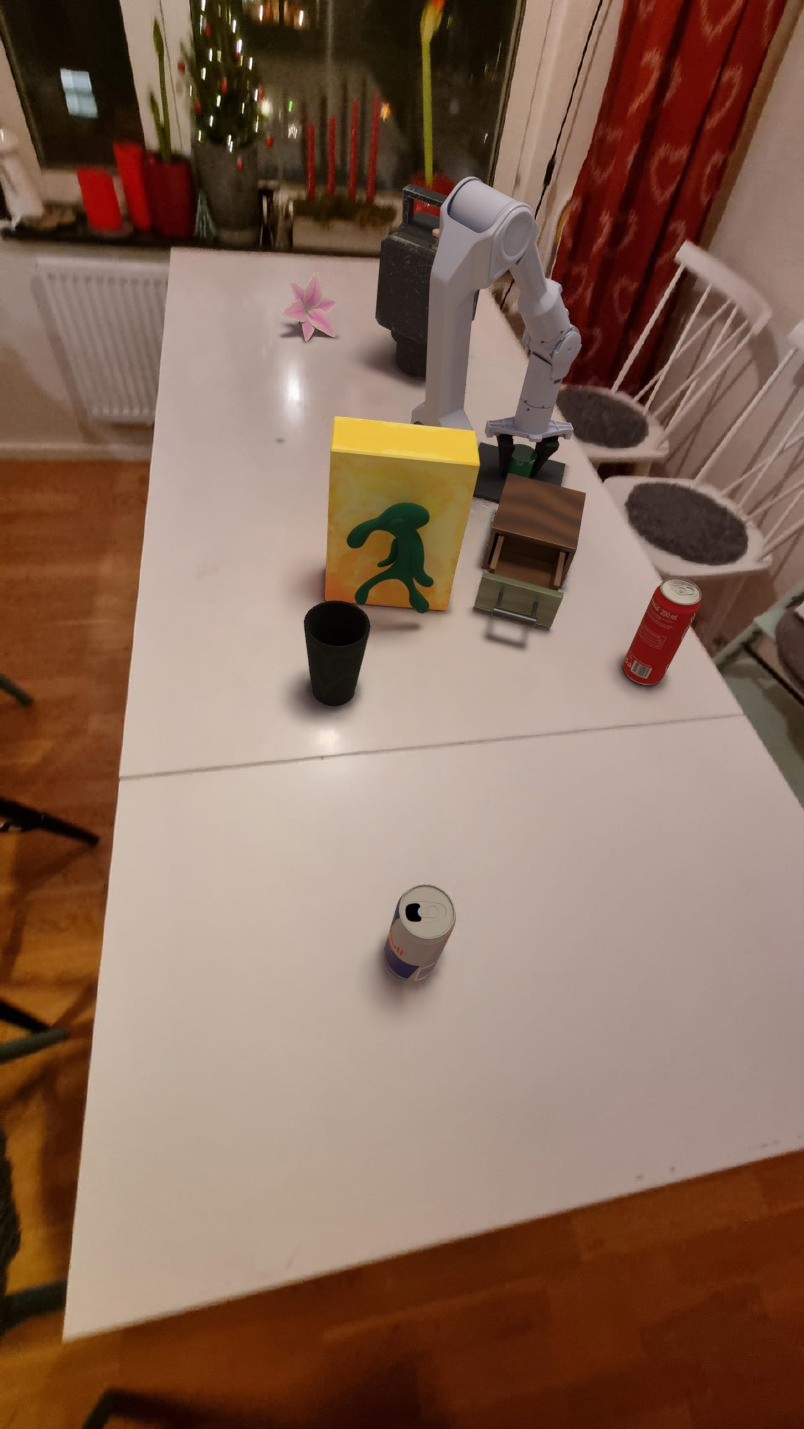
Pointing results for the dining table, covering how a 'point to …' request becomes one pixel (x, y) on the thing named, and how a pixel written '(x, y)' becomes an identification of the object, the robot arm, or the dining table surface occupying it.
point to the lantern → (410, 280)
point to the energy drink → (419, 932)
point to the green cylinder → (522, 461)
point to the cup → (335, 649)
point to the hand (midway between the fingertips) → (516, 473)
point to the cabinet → (538, 517)
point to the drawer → (522, 582)
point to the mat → (493, 483)
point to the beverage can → (662, 630)
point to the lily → (311, 307)
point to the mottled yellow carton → (397, 511)
